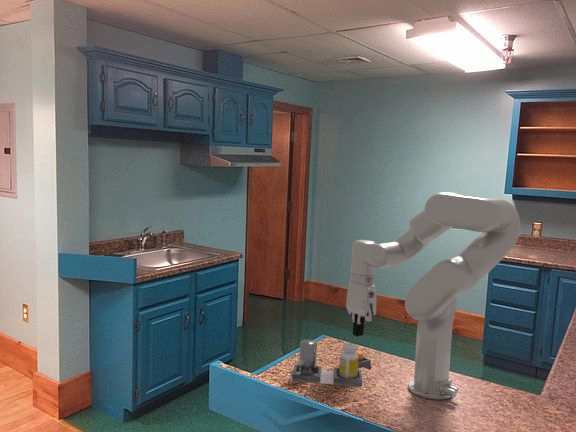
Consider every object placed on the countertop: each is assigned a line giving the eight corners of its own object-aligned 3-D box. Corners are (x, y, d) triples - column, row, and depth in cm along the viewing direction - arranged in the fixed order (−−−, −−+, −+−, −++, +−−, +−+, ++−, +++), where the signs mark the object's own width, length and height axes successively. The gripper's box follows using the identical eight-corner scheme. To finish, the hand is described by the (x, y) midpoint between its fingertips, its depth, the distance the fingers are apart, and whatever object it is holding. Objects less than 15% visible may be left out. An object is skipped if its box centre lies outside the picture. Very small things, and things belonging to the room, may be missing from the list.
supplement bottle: (358, 376, 147) (360, 344, 147) (355, 383, 142) (357, 350, 141) (341, 373, 149) (342, 342, 148) (336, 380, 144) (338, 347, 143)
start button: (366, 359, 158) (366, 353, 158) (357, 361, 156) (357, 355, 156) (359, 355, 161) (359, 350, 161) (350, 357, 159) (350, 351, 159)
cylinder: (318, 376, 146) (320, 343, 145) (304, 379, 143) (306, 346, 143) (309, 370, 150) (310, 338, 150) (295, 373, 148) (296, 340, 147)
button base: (371, 368, 158) (371, 360, 158) (356, 371, 155) (357, 363, 155) (359, 361, 163) (359, 354, 163) (344, 364, 160) (345, 357, 160)
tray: (362, 377, 150) (362, 368, 150) (363, 390, 140) (364, 381, 140) (293, 371, 152) (293, 363, 152) (290, 384, 142) (290, 375, 142)
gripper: (387, 283, 153) (382, 341, 154) (356, 273, 165) (352, 327, 167) (368, 285, 149) (364, 344, 150) (338, 274, 161) (334, 329, 163)
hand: (357, 335), depth 159 cm, fingers closed
